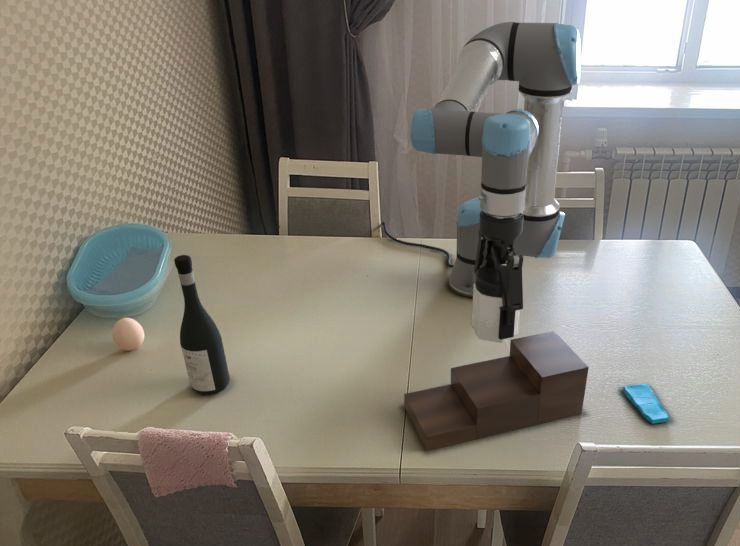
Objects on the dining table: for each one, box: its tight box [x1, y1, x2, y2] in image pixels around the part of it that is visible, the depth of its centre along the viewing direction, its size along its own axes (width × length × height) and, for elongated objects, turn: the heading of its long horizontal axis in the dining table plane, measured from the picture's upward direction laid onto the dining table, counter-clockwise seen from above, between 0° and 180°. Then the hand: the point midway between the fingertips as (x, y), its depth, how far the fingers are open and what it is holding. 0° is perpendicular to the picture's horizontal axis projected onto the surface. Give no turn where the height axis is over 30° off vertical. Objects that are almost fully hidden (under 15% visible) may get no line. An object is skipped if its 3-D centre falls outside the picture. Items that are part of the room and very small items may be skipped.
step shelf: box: [403, 330, 589, 452], centre depth 135 cm, size 14×33×12 cm, turn 110°
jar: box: [471, 264, 521, 344], centre depth 125 cm, size 9×8×12 cm
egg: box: [111, 317, 145, 352], centre depth 155 cm, size 7×7×8 cm
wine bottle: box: [173, 254, 230, 396], centre depth 137 cm, size 8×8×30 cm
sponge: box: [623, 383, 670, 425], centre depth 139 cm, size 2×12×6 cm
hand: (495, 324), depth 128 cm, fingers closed on jar, 9 cm apart
